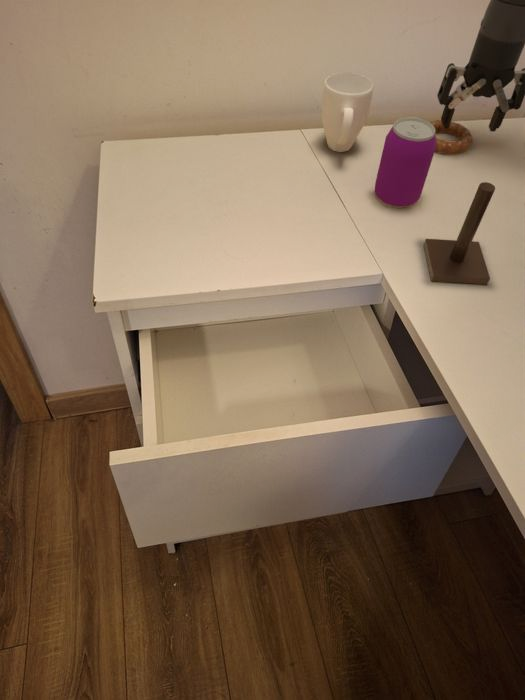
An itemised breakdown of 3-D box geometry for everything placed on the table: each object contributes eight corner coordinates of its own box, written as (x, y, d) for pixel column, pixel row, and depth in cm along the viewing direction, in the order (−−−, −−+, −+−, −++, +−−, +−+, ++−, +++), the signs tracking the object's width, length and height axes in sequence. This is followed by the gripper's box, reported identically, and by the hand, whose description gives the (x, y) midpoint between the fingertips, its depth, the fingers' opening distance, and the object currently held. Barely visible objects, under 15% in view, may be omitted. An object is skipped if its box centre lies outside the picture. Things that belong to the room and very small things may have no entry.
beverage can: (378, 178, 89) (394, 110, 80) (422, 189, 87) (444, 121, 78) (368, 203, 84) (383, 134, 75) (414, 215, 83) (436, 146, 73)
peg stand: (476, 247, 78) (511, 170, 68) (487, 284, 73) (527, 207, 63) (423, 244, 78) (450, 167, 68) (431, 281, 74) (461, 203, 63)
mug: (317, 132, 98) (324, 70, 89) (360, 135, 98) (372, 72, 89) (316, 168, 91) (324, 103, 82) (363, 171, 90) (376, 107, 81)
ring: (464, 129, 100) (468, 119, 99) (474, 156, 94) (478, 146, 93) (415, 127, 100) (418, 117, 99) (422, 153, 94) (425, 143, 93)
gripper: (464, 37, 80) (433, 136, 92) (556, 43, 80) (512, 141, 92) (455, 18, 84) (427, 115, 97) (542, 24, 84) (502, 120, 97)
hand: (468, 127), depth 95 cm, fingers open, 8 cm apart
